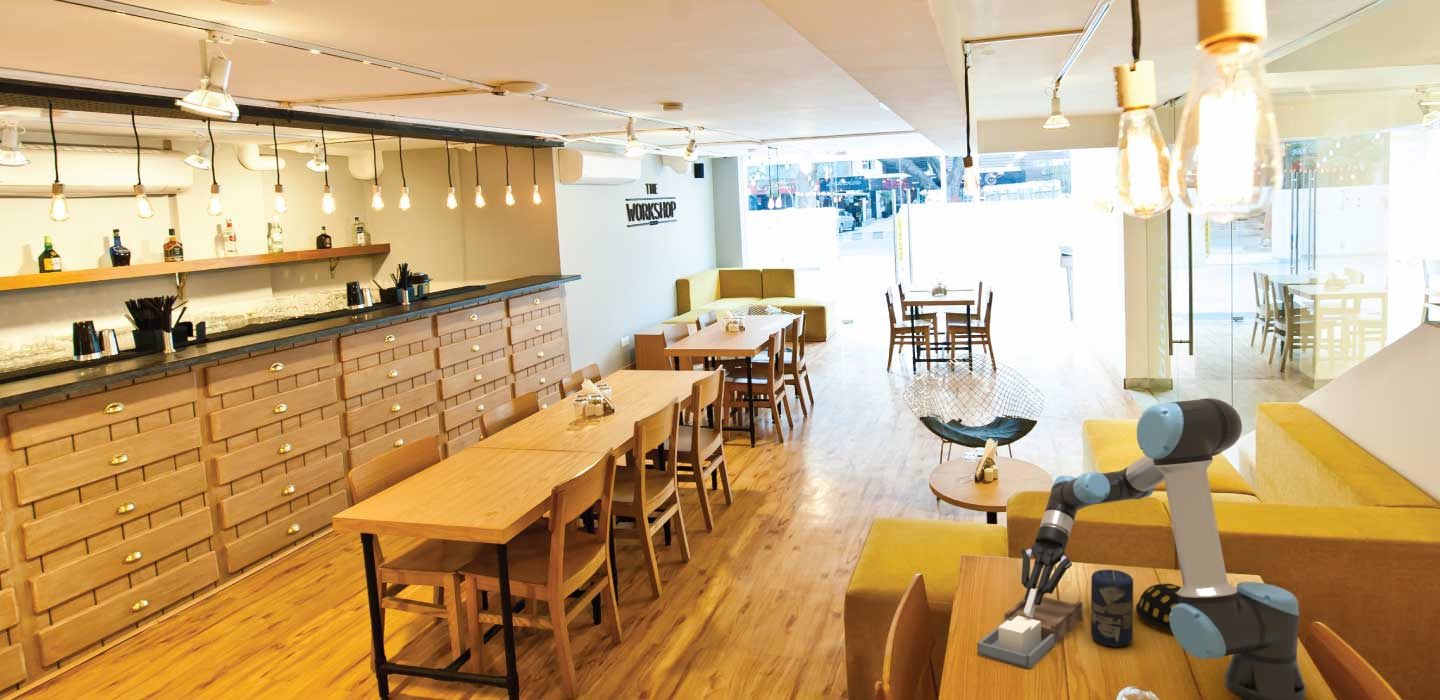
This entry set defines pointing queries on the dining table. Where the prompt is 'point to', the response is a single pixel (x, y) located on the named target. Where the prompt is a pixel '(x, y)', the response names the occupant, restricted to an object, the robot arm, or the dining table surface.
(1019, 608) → the board
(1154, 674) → the dining table surface
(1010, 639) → the block
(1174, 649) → the dining table surface
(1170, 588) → the yellow spotted black dome
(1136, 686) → the dining table surface
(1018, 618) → the block
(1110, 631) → the canister
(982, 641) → the tray
